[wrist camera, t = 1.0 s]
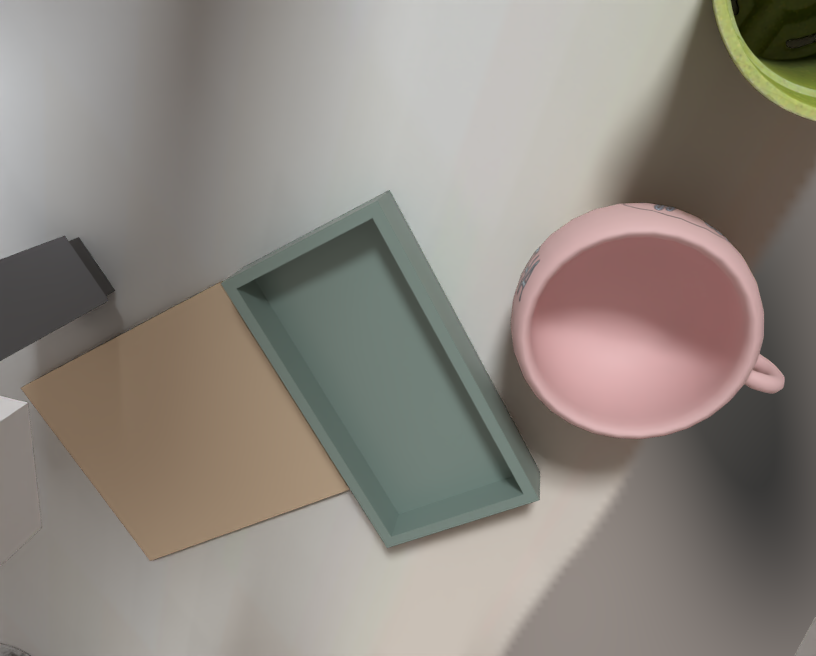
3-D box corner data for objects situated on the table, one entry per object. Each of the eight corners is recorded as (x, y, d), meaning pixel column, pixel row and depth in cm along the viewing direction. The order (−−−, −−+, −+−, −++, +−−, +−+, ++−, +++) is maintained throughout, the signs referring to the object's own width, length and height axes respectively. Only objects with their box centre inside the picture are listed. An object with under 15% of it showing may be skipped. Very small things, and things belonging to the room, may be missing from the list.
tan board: (25, 385, 41) (20, 388, 41) (222, 280, 36) (219, 283, 35) (153, 556, 45) (150, 560, 44) (351, 485, 39) (349, 489, 39)
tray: (241, 268, 35) (220, 283, 33) (389, 189, 32) (377, 200, 30) (396, 519, 39) (387, 548, 37) (540, 472, 36) (539, 499, 34)
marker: (29, 260, 38) (-166, 337, 27) (79, 229, 36) (-107, 298, 26) (72, 321, 39) (-100, 418, 28) (122, 293, 37) (-40, 384, 27)
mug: (484, 338, 34) (472, 392, 29) (568, 154, 30) (572, 176, 24) (704, 429, 34) (733, 500, 28) (820, 254, 29) (881, 299, 24)
